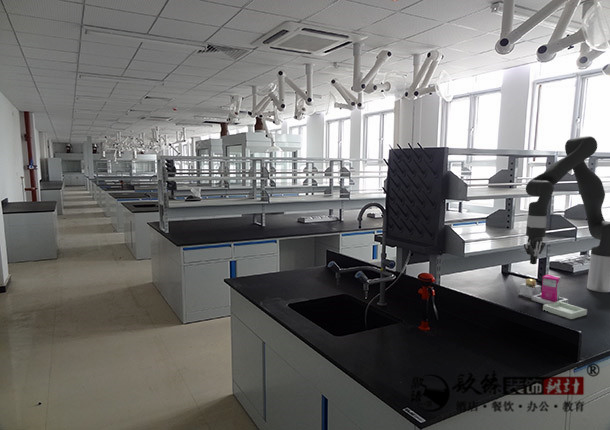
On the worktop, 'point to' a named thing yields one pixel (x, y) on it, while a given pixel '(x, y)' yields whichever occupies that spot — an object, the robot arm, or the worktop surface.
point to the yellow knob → (531, 282)
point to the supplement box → (551, 287)
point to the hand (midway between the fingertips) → (533, 263)
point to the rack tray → (565, 309)
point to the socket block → (536, 294)
